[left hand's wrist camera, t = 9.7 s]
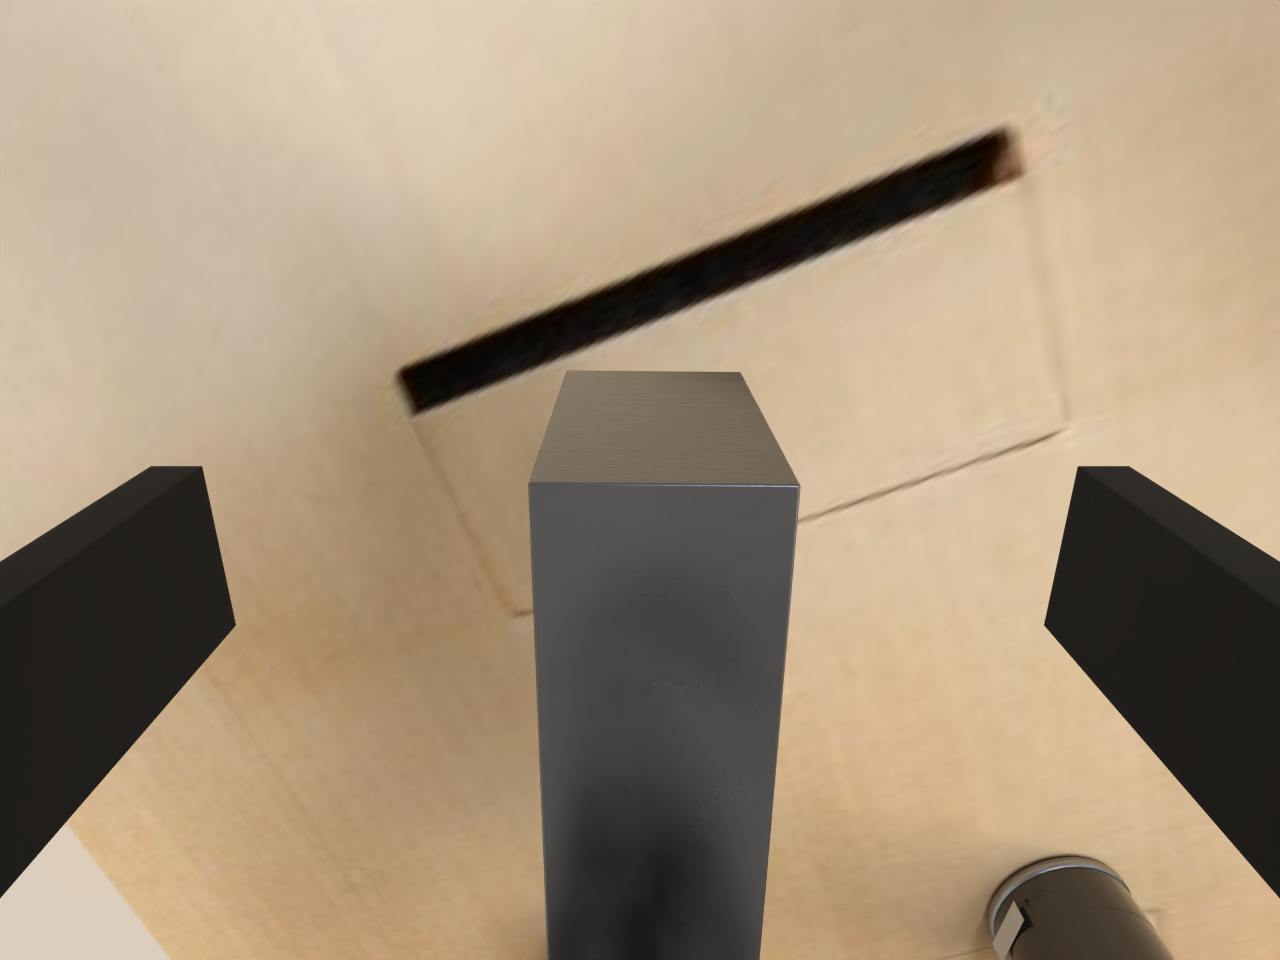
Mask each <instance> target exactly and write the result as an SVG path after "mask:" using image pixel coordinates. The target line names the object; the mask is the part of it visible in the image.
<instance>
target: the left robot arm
mask: <svg viewBox="0 0 1280 960" xmlns="http://www.w3.org/2000/svg"><path fill="white" fill-rule="evenodd" d="M235 626H236V623H235V619H234V614H233V609H232V604H231V600H230V595H229V590H228V586H227V581H226V576H225V572H224V567H223V562H222V557H221V553H220V548H219V543H218V539H217V534H216V529H215V525H214V520H213V515H212V510H211V506H210V501H209V496H208V492H207V487H206V482H205V478H204V473H203V468H202V466H151V467H149V468H148V469H146V470H144V471H143V472H141V473H140V474H138V475H137V476H135V477H133V478H132V479H130V480H129V481H127V482H126V483H124V484H122V485H121V486H119V487H118V488H116V489H114V490H113V491H111V492H110V493H108V494H107V495H105V496H103V497H102V498H100V499H99V500H97V501H95V502H94V503H92V504H91V505H89V506H88V507H86V508H84V509H83V510H81V511H80V512H78V513H77V514H75V515H73V516H72V517H70V518H69V519H67V520H65V521H64V522H62V523H61V524H59V525H58V526H56V527H54V528H53V529H51V530H50V531H48V532H46V533H45V534H43V535H42V536H40V537H39V538H37V539H35V540H34V541H32V542H31V543H29V544H28V545H26V546H24V547H23V548H21V549H20V550H18V551H16V552H15V553H13V554H12V555H10V556H9V557H7V558H5V559H4V560H2V561H1V562H0V898H1V897H2V896H3V894H4V893H5V892H6V891H7V890H8V889H9V888H10V886H11V885H12V884H13V883H14V882H15V881H16V879H17V878H18V877H19V876H20V875H21V874H22V872H23V871H24V870H25V869H26V868H27V867H28V865H29V864H30V863H31V862H32V861H33V860H34V859H35V857H36V856H37V855H38V854H39V853H40V852H41V850H42V849H43V848H44V847H45V846H46V845H47V843H48V842H49V841H50V840H51V839H52V838H53V837H54V835H55V834H56V833H57V832H58V831H59V830H60V828H61V827H62V826H63V825H64V824H65V823H66V821H67V820H68V819H69V818H70V817H71V816H72V815H73V813H74V812H75V811H76V810H77V809H78V808H79V806H80V805H81V804H82V803H83V802H84V801H85V799H86V798H87V797H88V796H89V795H90V794H91V792H92V791H93V790H94V789H95V788H96V787H97V786H98V784H99V783H100V782H101V781H102V780H103V779H104V777H105V776H106V775H107V774H108V773H109V772H110V770H111V769H112V768H113V767H114V766H115V765H116V764H117V762H118V761H119V760H120V759H121V758H122V757H123V755H124V754H125V753H126V752H127V751H128V750H129V748H130V747H131V746H132V745H133V744H134V743H135V742H136V740H137V739H138V738H139V737H140V736H141V735H142V733H143V732H144V731H145V730H146V729H147V728H148V726H149V725H150V724H151V723H152V722H153V721H154V719H155V718H156V717H157V716H158V715H159V714H160V713H161V711H162V710H163V709H164V708H165V707H166V706H167V704H168V703H169V702H170V701H171V700H172V699H173V697H174V696H175V695H176V694H177V693H178V692H179V691H180V689H181V688H182V687H183V686H184V685H185V684H186V682H187V681H188V680H189V679H190V678H191V677H192V675H193V674H194V673H195V672H196V671H197V670H198V669H199V667H200V666H201V665H202V664H203V663H204V662H205V660H206V659H207V658H208V657H209V656H210V655H211V653H212V652H213V651H214V650H215V649H216V648H217V646H218V645H219V644H220V643H221V642H222V641H223V640H224V638H225V637H226V636H227V635H228V634H229V633H230V631H231V630H232V629H233V628H234V627H235ZM1044 626H1045V627H1046V628H1047V629H1048V630H1049V631H1050V633H1051V634H1052V635H1053V636H1054V637H1055V638H1056V640H1057V641H1058V642H1059V643H1060V644H1061V645H1062V646H1063V648H1064V649H1065V650H1066V651H1067V652H1068V653H1069V655H1070V656H1071V657H1072V658H1073V659H1074V660H1075V662H1076V663H1077V664H1078V665H1079V666H1080V667H1081V669H1082V670H1083V671H1084V672H1085V673H1086V674H1087V675H1088V677H1089V678H1090V679H1091V680H1092V681H1093V682H1094V684H1095V685H1096V686H1097V687H1098V688H1099V689H1100V691H1101V692H1102V693H1103V694H1104V695H1105V696H1106V697H1107V699H1108V700H1109V701H1110V702H1111V703H1112V704H1113V706H1114V707H1115V708H1116V709H1117V710H1118V711H1119V713H1120V714H1121V715H1122V716H1123V717H1124V718H1125V719H1126V721H1127V722H1128V723H1129V724H1130V725H1131V726H1132V728H1133V729H1134V730H1135V731H1136V732H1137V733H1138V735H1139V736H1140V737H1141V738H1142V739H1143V740H1144V742H1145V743H1146V744H1147V745H1148V746H1149V747H1150V748H1151V750H1152V751H1153V752H1154V753H1155V754H1156V755H1157V757H1158V758H1159V759H1160V760H1161V761H1162V762H1163V764H1164V765H1165V766H1166V767H1167V768H1168V769H1169V770H1170V772H1171V773H1172V774H1173V775H1174V776H1175V777H1176V779H1177V780H1178V781H1179V782H1180V783H1181V784H1182V786H1183V787H1184V788H1185V789H1186V790H1187V791H1188V792H1189V794H1190V795H1191V796H1192V797H1193V798H1194V799H1195V801H1196V802H1197V803H1198V804H1199V805H1200V806H1201V808H1202V809H1203V810H1204V811H1205V812H1206V813H1207V815H1208V816H1209V817H1210V818H1211V819H1212V820H1213V821H1214V823H1215V824H1216V825H1217V826H1218V827H1219V828H1220V830H1221V831H1222V832H1223V833H1224V834H1225V835H1226V837H1227V838H1228V839H1229V840H1230V841H1231V842H1232V843H1233V845H1234V846H1235V847H1236V848H1237V849H1238V850H1239V852H1240V853H1241V854H1242V855H1243V856H1244V857H1245V859H1246V860H1247V861H1248V862H1249V863H1250V864H1251V865H1252V867H1253V868H1254V869H1255V870H1256V871H1257V872H1258V874H1259V875H1260V876H1261V877H1262V878H1263V879H1264V881H1265V882H1266V883H1267V884H1268V885H1269V886H1270V888H1271V889H1272V890H1273V891H1274V892H1275V893H1276V894H1277V896H1278V897H1279V898H1280V562H1279V561H1278V560H1276V559H1275V558H1273V557H1271V556H1270V555H1268V554H1267V553H1265V552H1264V551H1262V550H1260V549H1259V548H1257V547H1256V546H1254V545H1252V544H1251V543H1249V542H1248V541H1246V540H1245V539H1243V538H1241V537H1240V536H1238V535H1237V534H1235V533H1234V532H1232V531H1230V530H1229V529H1227V528H1226V527H1224V526H1222V525H1221V524H1219V523H1218V522H1216V521H1215V520H1213V519H1211V518H1210V517H1208V516H1207V515H1205V514H1203V513H1202V512H1200V511H1199V510H1197V509H1196V508H1194V507H1192V506H1191V505H1189V504H1188V503H1186V502H1185V501H1183V500H1181V499H1180V498H1178V497H1177V496H1175V495H1173V494H1172V493H1170V492H1169V491H1167V490H1166V489H1164V488H1162V487H1161V486H1159V485H1158V484H1156V483H1154V482H1153V481H1151V480H1150V479H1148V478H1147V477H1145V476H1143V475H1142V474H1140V473H1139V472H1137V471H1136V470H1134V469H1132V468H1131V467H1129V466H1078V468H1077V473H1076V478H1075V482H1074V487H1073V492H1072V496H1071V501H1070V506H1069V510H1068V515H1067V520H1066V525H1065V529H1064V534H1063V539H1062V543H1061V548H1060V553H1059V557H1058V562H1057V567H1056V572H1055V576H1054V581H1053V586H1052V590H1051V595H1050V600H1049V604H1048V609H1047V614H1046V619H1045V623H1044Z"/></svg>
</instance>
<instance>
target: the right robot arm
mask: <svg viewBox="0 0 1280 960" xmlns="http://www.w3.org/2000/svg"><path fill="white" fill-rule="evenodd" d="M988 927H989V930H990V933H991V935H992V937H993V939H994V941H993V943H992V945H993V947H994V949H995V951H996V953H997V955H998V958H999V960H1004V959H1005V960H1175V958H1174V957H1173V955H1172V954H1171V953H1170V951H1169V950H1168V948H1167V947H1166V945H1165V944H1164V942H1163V941H1162V940H1161V938H1160V937H1159V935H1158V934H1157V932H1156V931H1155V929H1154V927H1153V926H1152V925H1151V923H1150V922H1149V920H1148V919H1147V917H1146V916H1145V914H1144V913H1143V912H1142V910H1141V909H1140V907H1139V906H1138V904H1137V903H1136V902H1135V900H1134V899H1133V897H1132V895H1131V893H1130V891H1129V889H1128V887H1127V886H1126V884H1125V883H1124V882H1123V880H1122V879H1121V877H1120V876H1119V875H1118V874H1117V873H1116V872H1115V871H1114V870H1113V869H1111V868H1110V867H1108V866H1107V865H1105V864H1103V863H1101V862H1098V861H1095V860H1092V859H1087V858H1080V857H1062V858H1055V859H1050V860H1046V861H1042V862H1040V863H1037V864H1034V865H1032V866H1029V867H1027V868H1025V869H1024V870H1022V871H1020V872H1019V873H1017V874H1015V875H1014V876H1013V877H1011V878H1010V879H1009V880H1008V881H1007V882H1006V883H1005V884H1004V885H1003V886H1002V887H1001V888H1000V889H999V890H998V892H997V893H996V895H995V896H994V898H993V900H992V902H991V904H990V907H989V911H988Z"/></svg>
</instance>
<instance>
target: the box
mask: <svg viewBox="0 0 1280 960" xmlns="http://www.w3.org/2000/svg"><path fill="white" fill-rule="evenodd" d="M528 490H529V514H530V538H531V563H532V587H533V612H534V636H535V661H536V685H537V710H538V734H539V758H540V783H541V807H542V832H543V856H544V881H545V905H546V930H547V954H548V960H759V959H760V948H761V936H762V925H763V913H764V902H765V890H766V878H767V867H768V855H769V844H770V832H771V821H772V809H773V798H774V786H775V775H776V763H777V751H778V740H779V728H780V717H781V705H782V694H783V682H784V671H785V659H786V648H787V636H788V625H789V613H790V601H791V590H792V578H793V567H794V555H795V544H796V532H797V521H798V509H799V498H800V484H799V482H798V480H797V478H796V477H795V475H794V473H793V471H792V469H791V467H790V465H789V463H788V461H787V460H786V458H785V456H784V454H783V452H782V450H781V448H780V446H779V444H778V443H777V441H776V439H775V437H774V435H773V433H772V431H771V429H770V427H769V426H768V424H767V422H766V420H765V418H764V416H763V414H762V412H761V410H760V408H759V407H758V405H757V403H756V401H755V399H754V397H753V395H752V393H751V391H750V390H749V388H748V386H747V384H746V382H745V380H744V378H743V376H742V374H741V373H740V372H660V371H567V372H566V374H565V377H564V380H563V383H562V386H561V389H560V392H559V395H558V398H557V401H556V404H555V407H554V410H553V413H552V416H551V419H550V422H549V425H548V428H547V431H546V434H545V437H544V440H543V442H542V445H541V448H540V451H539V454H538V457H537V460H536V463H535V466H534V469H533V472H532V475H531V478H530V481H529V484H528Z"/></svg>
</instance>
